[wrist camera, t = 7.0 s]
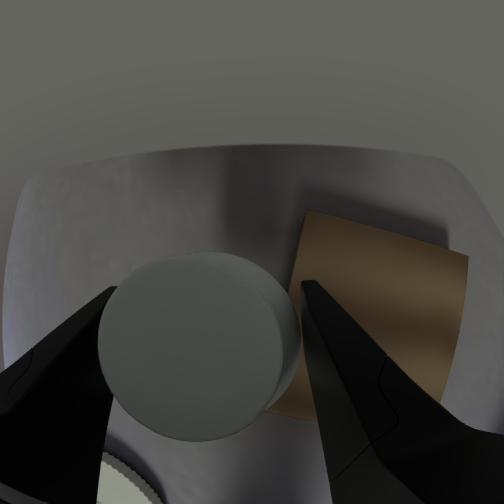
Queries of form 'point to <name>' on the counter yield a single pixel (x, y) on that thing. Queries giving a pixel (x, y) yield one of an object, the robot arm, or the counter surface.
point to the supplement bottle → (199, 344)
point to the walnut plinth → (381, 299)
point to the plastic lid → (122, 484)
